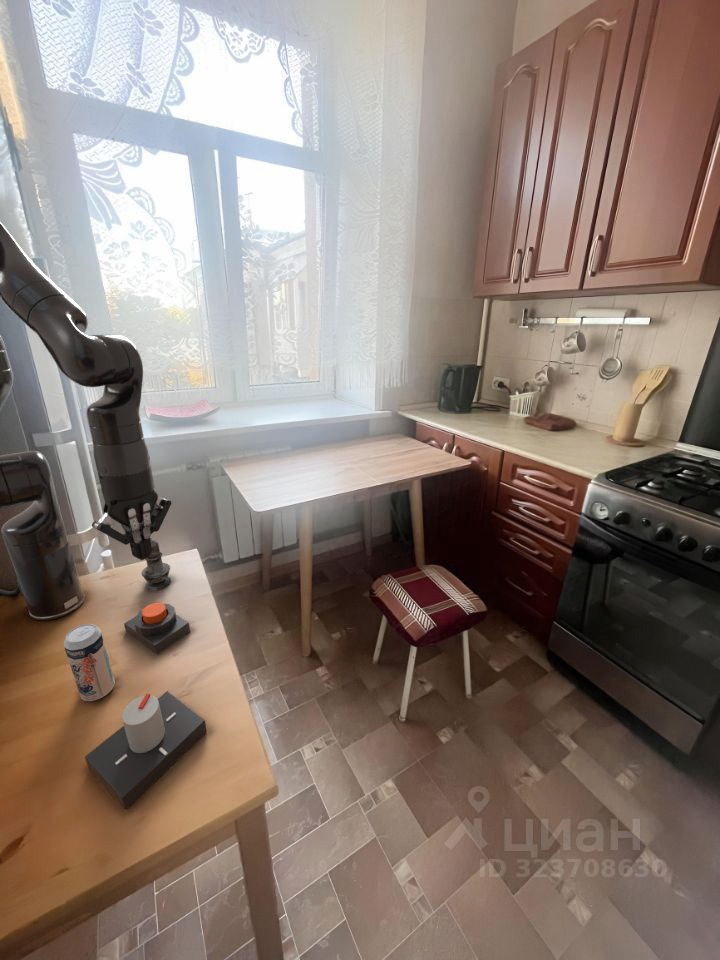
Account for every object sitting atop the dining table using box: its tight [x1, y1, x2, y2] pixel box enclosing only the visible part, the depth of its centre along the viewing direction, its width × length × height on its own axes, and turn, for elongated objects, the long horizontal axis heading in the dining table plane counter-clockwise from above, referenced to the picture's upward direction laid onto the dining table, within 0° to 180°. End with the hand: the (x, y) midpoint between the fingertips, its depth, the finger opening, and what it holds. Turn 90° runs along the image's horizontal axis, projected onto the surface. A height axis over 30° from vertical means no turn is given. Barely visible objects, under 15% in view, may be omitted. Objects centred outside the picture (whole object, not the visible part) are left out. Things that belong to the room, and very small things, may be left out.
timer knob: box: [121, 693, 165, 753], centre depth 53 cm, size 4×4×6 cm
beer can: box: [63, 623, 116, 702], centre depth 62 cm, size 5×5×12 cm
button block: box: [123, 603, 191, 655], centre depth 75 cm, size 10×7×4 cm
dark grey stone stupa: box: [140, 537, 172, 591], centre depth 88 cm, size 6×6×12 cm
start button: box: [141, 602, 167, 624], centre depth 74 cm, size 4×4×2 cm
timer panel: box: [84, 691, 208, 811], centre depth 55 cm, size 9×12×3 cm
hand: (143, 557), depth 70 cm, fingers closed
